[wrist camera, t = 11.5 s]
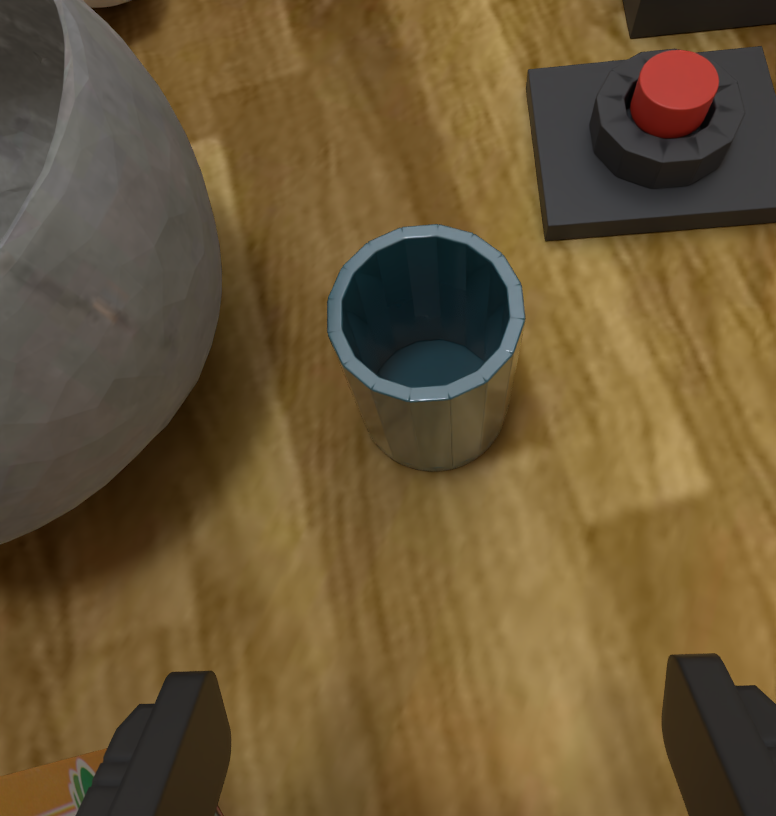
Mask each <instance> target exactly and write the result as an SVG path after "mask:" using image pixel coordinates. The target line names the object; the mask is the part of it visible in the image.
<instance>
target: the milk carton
mask: <svg viewBox="0 0 776 816" xmlns="http://www.w3.org/2000/svg"><path fill="white" fill-rule="evenodd" d="M106 750H107V748H106V749H102V750H99V751H95V752H91V753H87V754H83V755H80V756H76V757H72V758H68V759H65V760H61V761H57V762H53V763H49V764H46V765H42V766H38V767H34V768H30V769H27V770H23V771H19V772H15V773H12V774H8V775H4V776H0V816H75V815H76V813H77V811H78V809H79V807H80V805H81V803H82V801H83V799H84V797H85V794H86V792H87V790H88V788H89V787H91V786H92V780H93V778H94V775H95V773H96V771H97V769H98V767H99V765H100V763H103V757H104V754H105V752H106ZM214 816H223V814H222V813H221V811H220V809H219V807H218V806H217V808H216V812H215V815H214Z"/></svg>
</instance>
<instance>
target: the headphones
mask: <svg viewBox="0 0 776 816" xmlns="http://www.w3.org/2000/svg"><path fill="white" fill-rule="evenodd" d="M83 1H84V2H85V3H86V4H87V5H88V6H89V7H90V8H97V7H110V6H115V5H119V4H122V3H125V2H128V1H131V0H83Z"/></svg>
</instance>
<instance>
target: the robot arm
mask: <svg viewBox="0 0 776 816" xmlns="http://www.w3.org/2000/svg"><path fill="white" fill-rule="evenodd" d="M662 732H663V739H664V744H665V748H666V752H667V755H668V758H669V761H670V764H671V767H672V769H673V772H674V775H675V778H676V781H677V783H678V786H679V789H680V792H681V795H682V797H683V800H684V803H685V806H686V808H687V811H688V814H689V816H776V704H775V703H774V702H773V701H772V700H771V699H770V698H769V697H767V696H766V695H765V694H764V693H763V692H762V691H761V690H760V689H759V688H758V687H757V686H756V685H750V686H735V685H734V683H733V681H732V679H731V677H730V675H729V673H728V671H727V669H726V667H725V665H724V663H723V661H722V660H721V658H720V657H719V656H718V655H717V654H715V653H710V654H678V655H670V656H669V658H668V662H667V671H666V680H665V690H664V699H663V708H662ZM230 755H231V731H230V726H229V722H228V719H227V715H226V711H225V707H224V704H223V700H222V696H221V692H220V689H219V685H218V681H217V678H216V675H215V673H214V672H213V671H189V672H171V673H170V674H169V675H168V676H167V677H166V679H165V681H164V683H163V686H162V688H161V690H160V693H159V695H158V697H157V700H156V702H155V704H139V705H138V706H137V707H136V708H135V709H134V711H133V712H132V713H131V714H130V715H129V716H128V717H127V718H126V719H125V720H124V721H123V723H122V724H121V725H120V726H119V727H118V728H117V729H116V731H115V733H114V735H113V738H112V740H111V742H110V744H109V746H108V748H107V750H106V752H105V754H104V757H103V763H100V765H99V767H98V769H97V771H96V773H95V775H94V778H93V780H92V786H91V787H89V788H88V790H87V792H86V794H85V797H84V799H83V801H82V803H81V805H80V807H79V809H78V811H77V813H76V815H75V816H214V815H215V812H216V808H217V805H218V801H219V798H220V794H221V791H222V787H223V784H224V780H225V777H226V773H227V770H228V766H229V761H230Z"/></svg>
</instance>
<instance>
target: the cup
mask: <svg viewBox="0 0 776 816" xmlns="http://www.w3.org/2000/svg"><path fill="white" fill-rule="evenodd" d="M525 319H526V318H525V309H524V299H523V290H522V285H521V283H520V281H519V279H518V278H517V276H516V274H515V273H514V271H513V269H512V268H511V266H510V264H509V263H508V261H507V259H506V258H505V256H504V255H503V254H502V253H501V252H499V251H498V250H497V249H495V248H494V247H492V246H491V245H490V244H488V243H487V242H485V241H484V240H483V239H481V238H480V237H478V236H477V235H476V234H473V233H471V232H467V231H463V230H459V229H456V228H452V227H448V226H444V225H440V224H439V225H438V224H432V225H420V226H408V227H402V228H398V229H396V230H393V231H391V232H389V233H387V234H384V235H382V236H380V237H378V238H375V239H373V240H371V241H369V242H368V243H366V244H365V245H364V246H363V247H362V248H361V249H360V250H359V251H358V252H357V253H356V254H355V255H354V256H353V257H352V258H351V259H350V260H349V261H348V262H346V263H345V264H344V265H343V267H342V268H341V270H340V272H339V274H338V277H337V279H336V281H335V283H334V285H333V288H332V290H331V292H330V294H329V297H328V301H327V333H328V337H329V339H330V342H331V344H332V347H333V349H334V351H335V354H336V356H337V359H338V361H339V363H340V366H341V368H342V371H343V373H344V376H345V378H346V380H347V383H348V385H349V388H350V390H351V392H352V395H353V397H354V400H355V402H356V405H357V407H358V409H359V412H360V414H361V417H362V419H363V421H364V423H365V425H366V427H367V430H368V432H369V434H370V436H371V438H372V439H373V441H374V442H375V443H376V445H377V446H378V447H379V448H380V449H381V450H382V451H383V452H384V453H385V454H386V455H388V456H389V457H390V458H391V459H393V460H395V461H396V462H398V463H400V464H402V465H405V466H407V467H410V468H413V469H417V470H423V471H444V470H450V469H454V468H458V467H460V466H463V465H465V464H467V463H469V462H471V461H473V460H475V459H476V458H477V457H479V456H480V455H482V454H483V453H484V452H485V451H486V450H487V449H488V448H489V447H490V446H491V445H492V443H493V442H494V441H495V439H496V438H497V436H498V434H499V433H500V431H501V428H502V426H503V423H504V420H505V416H506V413H507V410H508V407H509V402H510V397H511V392H512V386H513V381H514V376H515V371H516V366H517V361H518V356H519V351H520V345H521V340H522V335H523V330H524V325H525Z"/></svg>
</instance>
